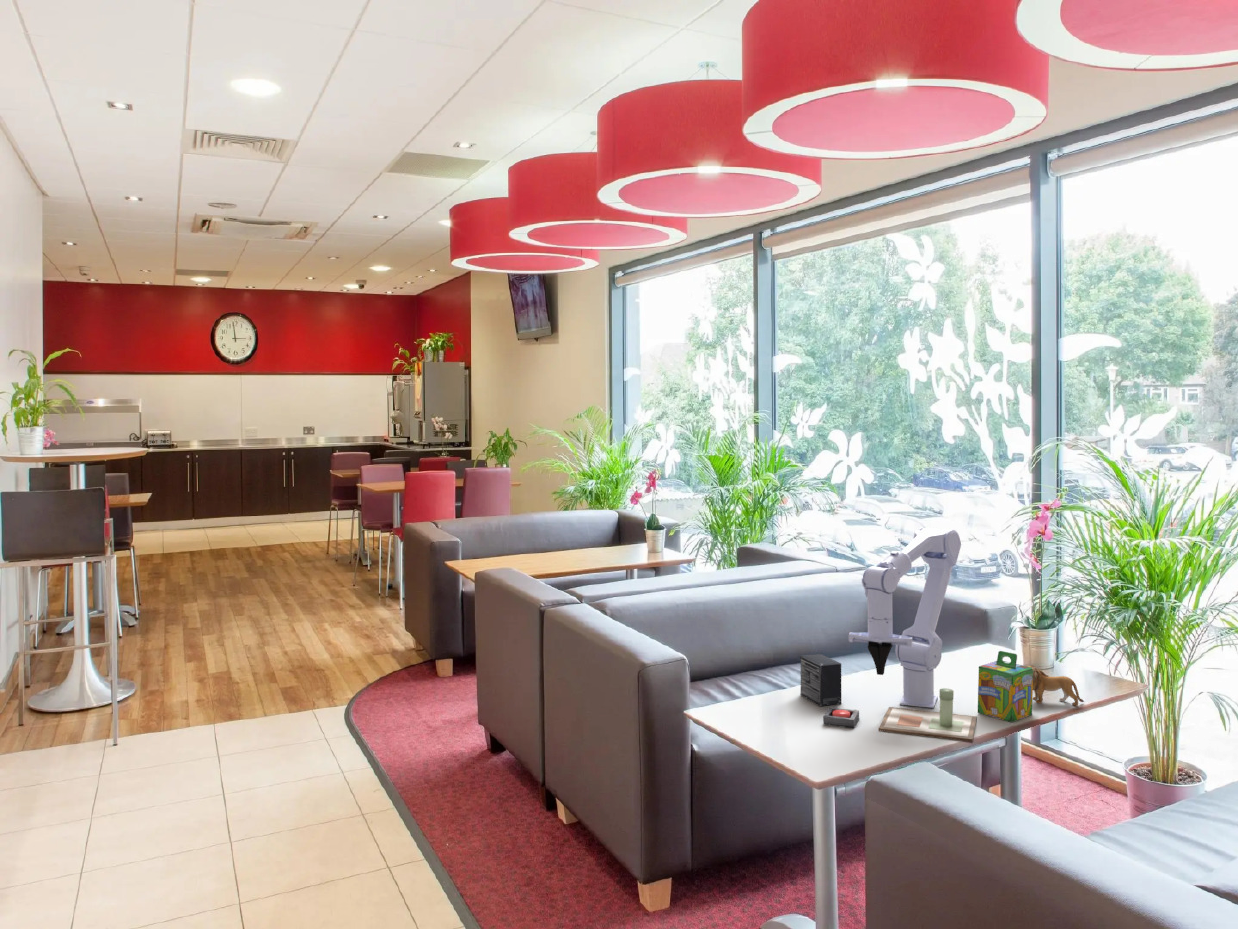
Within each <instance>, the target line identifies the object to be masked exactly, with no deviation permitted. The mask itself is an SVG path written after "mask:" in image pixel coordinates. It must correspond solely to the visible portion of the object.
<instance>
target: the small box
mask: <svg viewBox="0 0 1238 929" xmlns="http://www.w3.org/2000/svg"><path fill="white" fill-rule="evenodd" d="M799 659H800V661H799V662H800V693H799V694H800V696H801V697H803V698H805V699H807V700H808V701H809V702H812V703H814V704H815V705H816V706H819V707H826V706H834V705H835V706H836V705H841V704H842V663H841V662H839V661H837V660H835V659H832V658H831V657H829V656H826V655H823V654H822V653H817V654H805V655H803V654H802V655H800V657H799Z"/></svg>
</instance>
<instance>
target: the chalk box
mask: <svg viewBox="0 0 1238 929" xmlns="http://www.w3.org/2000/svg"><path fill="white" fill-rule="evenodd" d="M1005 657H1007V658H1010V661H1004V660H1003V659H1004V658H1005ZM996 658H997V659H996V660H995V661H992V662H988V663H985V664H982V665H979V666H978V682H977V684H978V685H977V686H978V688H977V713H978V714H983V715H985V716H989V717H993V718H996V719H999V720H1002V721H1006V722H1008V723H1009V722H1010V723H1014V722H1016V721H1017V722H1018V721H1019V720H1021V719H1022V720H1023V719H1024V718H1026V717H1027V718H1028V717H1029V716H1032V714H1033V692H1034V690H1033V669H1032V668H1031V667H1027V666H1028V665H1023V664H1017V661H1018V655H1017V654H1016V653H1013V652H1007V651H1004V650H1003V651H1002V650H999V651H998V654H997V657H996Z"/></svg>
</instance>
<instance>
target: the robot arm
mask: <svg viewBox="0 0 1238 929" xmlns="http://www.w3.org/2000/svg"><path fill="white" fill-rule="evenodd" d="M961 548H962V542H961V539H960V534H959V533H958V531H957V530H956V529H941V528H929V527H925V526H921V527H919V528H918V529H917V530H916V531H915V532H914V533H913V539H912V540H911V541H910V542H909V544H907V545H906V546H905V547H904V548H903V549H902V551H900V550H891V552H890V555H888V556H886V558H884V559H883V560H881V561H880V562H879V563H877V565H876V566H874V565H873V566H872V565H871V566H869V567H867V568H866V569H864V572H863V575H862V578H861V584H862V587H863V588H864V595H865V598H867V601H866V602H867V632H851V631H850V632H849V633H848V642H849V643H855V642H856V643H867V649H868V651H869V653H870V656H871V658H872V660H873V662H874V666H875V670H876V675H880V676H883V675H884V674H885V667H886V663H887V660H888V657H889V654H890V652H891V649H892V648H893V646H895V650H894V652H895V657H896V659H897V661H898V662H900V666H902V675H903V678H902V679H903V682H902V683H903V684H902V685H903V691H902V692H903V695H902V698H901V699H900V701H899V705H902V706H911V707H912V706H913V707H920V708H929V709H934V708H935V705H936V703H937V699H938V695H937V694H935V691H934V689H935V687H934V682H935V680H934V678H935V677H934V675H935V674H934V673H935V672H934V670H935V669H937V667H938V666H939V665H940V663H941V660H942V647H943V641H942V639H941V637H940V636H939V635H938V634H937V632H936V629H937V625H938V621H939V618H940V615H941V611H942V607H943V605H944V604H943V603H944V600H945V597H946V592H947V588H948V585H949V581H950V578H951V575H952V572H953V571H952V570H953V568H954V567H955V566H956V565H957V562H958V558H959V555H960V550H961ZM920 557H921V559H922V560H923V562H924V563H926V564H928V568H929V569H928V573H927V577H926V579H925V583H924V586H923V587H924V588H923V591H922V594H921V597H920V601H919V605H918V608H917V611H916V612H917V613H916V614H915V619H914V623H913V624H912V626H910V627H908V628H906V629H904V630H903V631H902V634H901V635H900V634H895V633H894V630H893V628H894V626H893V625H894V624H893V623H894V622H893V620H894V619H893V617H894V616H893V614H894V613H893V611H894V610H893V592H896V589H897V588H898V584H899V582H900V580H901V578H902V577H904V576H905V575H906V574H907V573H908V572H910V571H911V568H912V566H913V562H914V561H916V560H917V559H919V558H920Z"/></svg>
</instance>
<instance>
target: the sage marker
mask: <svg viewBox="0 0 1238 929" xmlns="http://www.w3.org/2000/svg"><path fill="white" fill-rule="evenodd" d="M954 692H955V691H954V690H953V689H951V688H945V687H943V688H942V687H941V688H939V712H940V723H939V724H940V725H941V726H944V727H951V726H952V723H953V714H954V708H953V707H954Z"/></svg>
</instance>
